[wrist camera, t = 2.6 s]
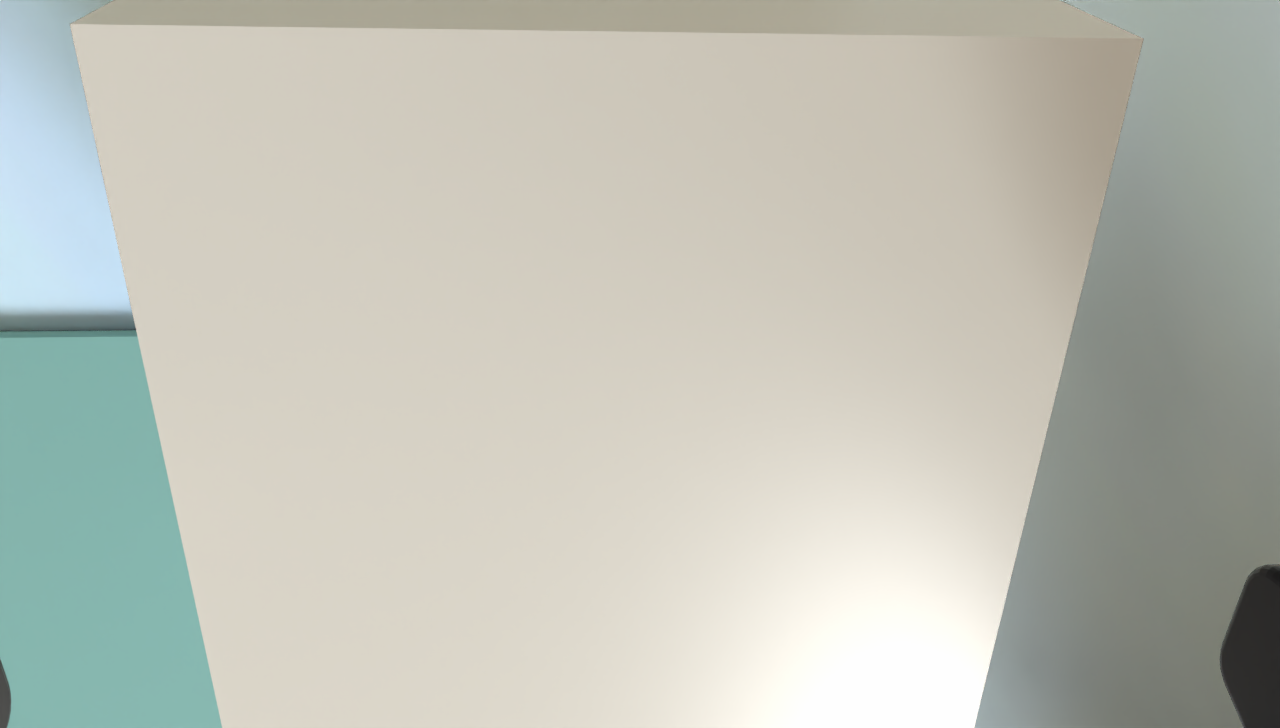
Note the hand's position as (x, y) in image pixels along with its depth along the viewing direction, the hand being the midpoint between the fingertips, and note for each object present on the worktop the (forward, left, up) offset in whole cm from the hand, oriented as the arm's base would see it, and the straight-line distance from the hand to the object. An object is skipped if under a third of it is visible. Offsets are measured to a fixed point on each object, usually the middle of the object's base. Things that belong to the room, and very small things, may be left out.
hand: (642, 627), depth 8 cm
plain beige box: (0, 0, -9) cm, 9 cm away
